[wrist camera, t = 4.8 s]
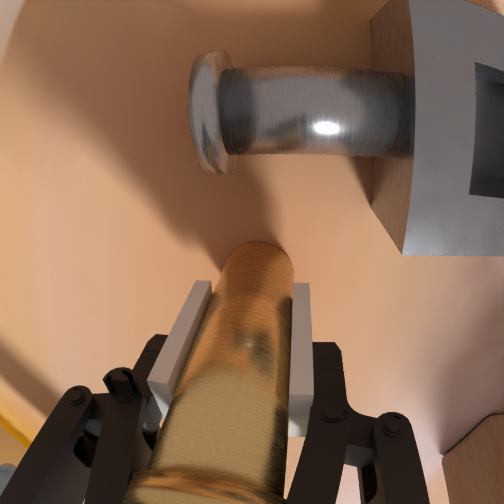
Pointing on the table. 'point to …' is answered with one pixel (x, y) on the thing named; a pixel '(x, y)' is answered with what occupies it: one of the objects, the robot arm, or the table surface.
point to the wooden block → (477, 465)
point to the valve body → (382, 121)
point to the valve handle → (230, 394)
